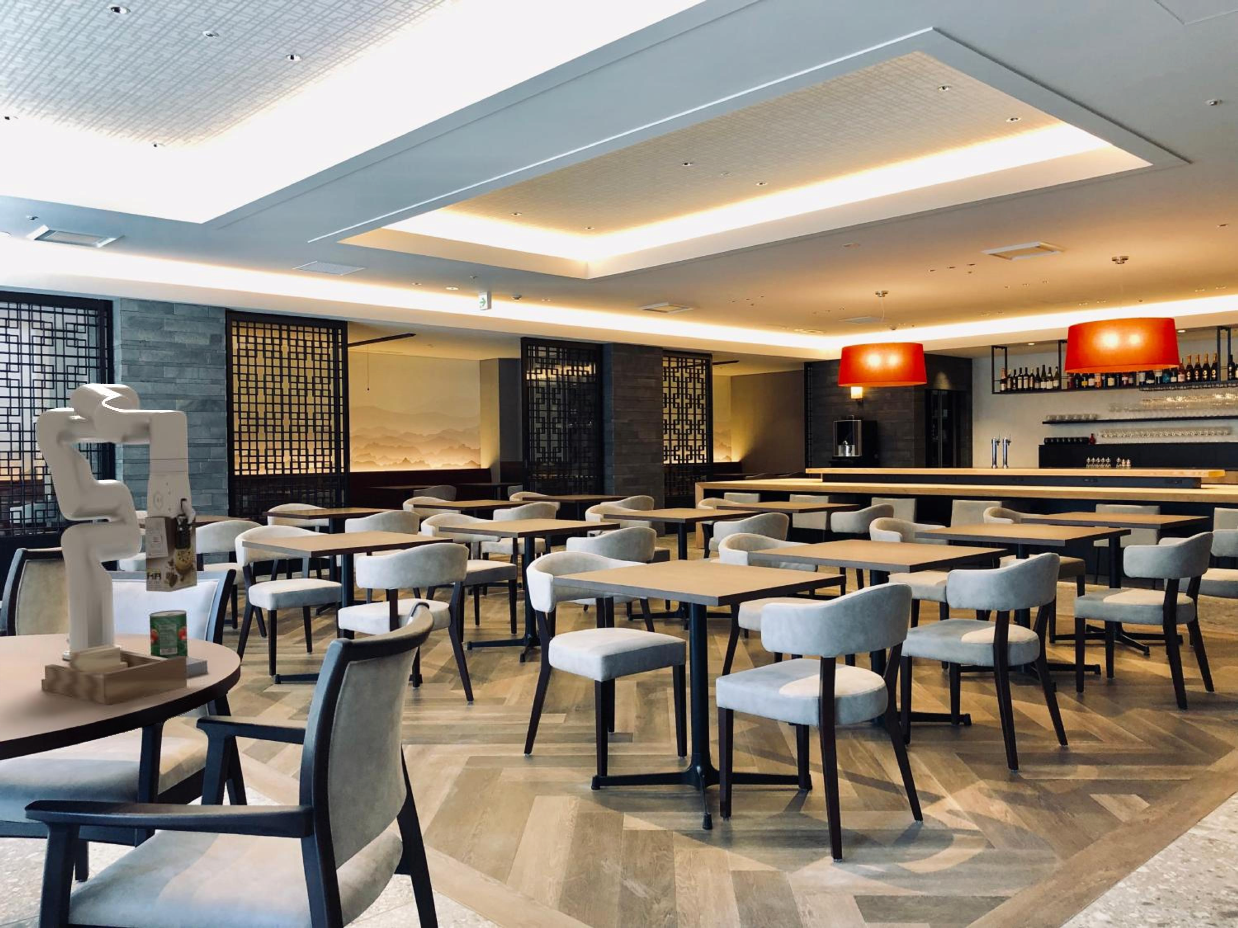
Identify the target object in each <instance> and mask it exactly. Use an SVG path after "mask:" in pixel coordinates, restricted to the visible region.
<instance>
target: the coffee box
mask: <svg viewBox="0 0 1238 928" xmlns="http://www.w3.org/2000/svg"><path fill="white" fill-rule="evenodd" d="M196 516H197V514H195V517H194V519H193V524H192V525H191V526H192V529H191V530H190V538H191V547H190V548H188V549H179V550H178V549H176V546H175V531H178V530H177V528H176V524H175V517H174V519H171V517H166V516H152V517H148V516H145V517H144V526H145V527H144V530H145V541H144V542H145V590H146V592H161V593H162V592H164V593H172V592H175V591H181V590H184V589H189V588H192V587H197V586H198V568H197V567H198V566H197V563H198V562H197V560H198V559H197V558H198V557H197V524H196V521H197V519H196ZM180 523H182V521H180Z"/></svg>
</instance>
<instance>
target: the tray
mask: <svg viewBox="0 0 1238 928" xmlns="http://www.w3.org/2000/svg"><path fill="white" fill-rule="evenodd" d="M120 662H125V663H128V668H125V669H121V670H116V671H111V672H107V673H103V675H102V674H97V673H92V672H87V671H83V670H78V669H73V668H70V666H62V665H58V664H54V663H53V664H45V665H44V678H42V679H40V680H41V690H45V691H49V692H53V693H56V694H61V695H65V696H70V697H73V698H76V699H82V700H86V701H89V702H94V703H98V704H101V705H102V704H103V705H107V706H111V705H115V704H119V702H120V703H122V702H127V701H131V700H136V699H140V698H143V697H148V696H151V695H156V694H160V693H161V694H162V693H164V692H169V691H172V690H176V689H181V688H184V687H185V688H186V687H188V684H187V683H188V678H187V671H186V657H182V656H181V657H176V658H172V659H167V658H162V657H156V656H151V654H146V653H145V654H144V653H139V652H133V651H129V650H128V651H127V650H123V649H122V651H120Z"/></svg>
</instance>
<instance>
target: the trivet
mask: <svg viewBox="0 0 1238 928" xmlns="http://www.w3.org/2000/svg"><path fill="white" fill-rule="evenodd" d="M176 657H181V656H176ZM176 657H172V658H176ZM182 657H185V656H182ZM172 658H167V659H172ZM186 671H187V676H188V677H191V675H192V676H195V674H196V675H200V674H203V673H208V660H206V659H201V658H200V659H199V658H197V657H196V658H195V657H190V656H188V657H186Z"/></svg>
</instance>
